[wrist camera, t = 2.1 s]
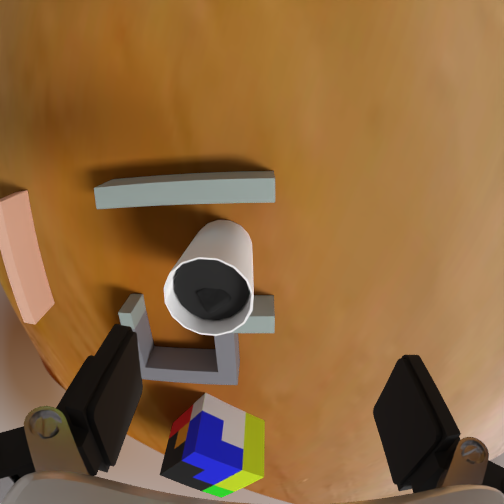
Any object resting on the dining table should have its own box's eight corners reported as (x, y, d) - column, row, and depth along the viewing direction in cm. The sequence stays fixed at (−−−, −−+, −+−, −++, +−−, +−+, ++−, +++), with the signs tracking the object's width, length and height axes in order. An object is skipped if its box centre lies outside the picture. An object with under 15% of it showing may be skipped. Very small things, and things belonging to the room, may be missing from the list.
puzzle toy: (205, 392, 41) (194, 451, 32) (264, 420, 43) (263, 477, 34) (172, 422, 44) (159, 474, 35) (226, 446, 46) (221, 497, 37)
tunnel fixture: (273, 171, 29) (275, 180, 25) (272, 362, 38) (273, 391, 33) (16, 192, 31) (-10, 203, 26) (60, 347, 39) (44, 368, 35)
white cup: (268, 259, 33) (270, 314, 24) (213, 287, 34) (196, 347, 25) (234, 202, 31) (222, 239, 21) (177, 235, 32) (146, 282, 23)
